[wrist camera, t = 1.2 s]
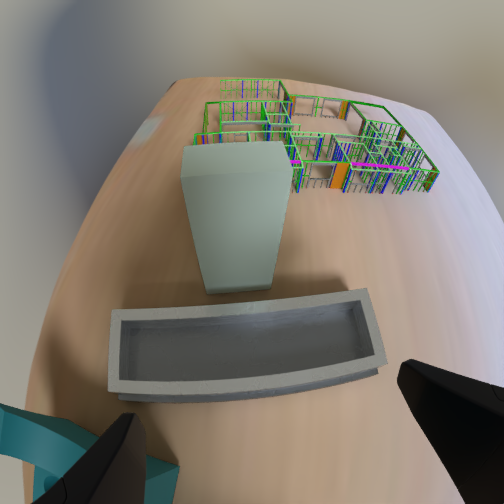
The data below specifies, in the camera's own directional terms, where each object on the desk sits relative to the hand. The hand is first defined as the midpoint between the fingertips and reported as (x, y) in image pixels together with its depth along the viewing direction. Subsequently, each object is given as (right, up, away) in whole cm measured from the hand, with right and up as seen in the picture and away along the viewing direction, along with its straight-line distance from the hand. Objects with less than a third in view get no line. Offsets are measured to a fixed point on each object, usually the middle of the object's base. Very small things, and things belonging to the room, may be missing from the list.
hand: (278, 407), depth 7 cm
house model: (+8, +24, +35) cm, 43 cm away
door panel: (-2, +2, +19) cm, 19 cm away
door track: (-1, -4, +15) cm, 15 cm away
